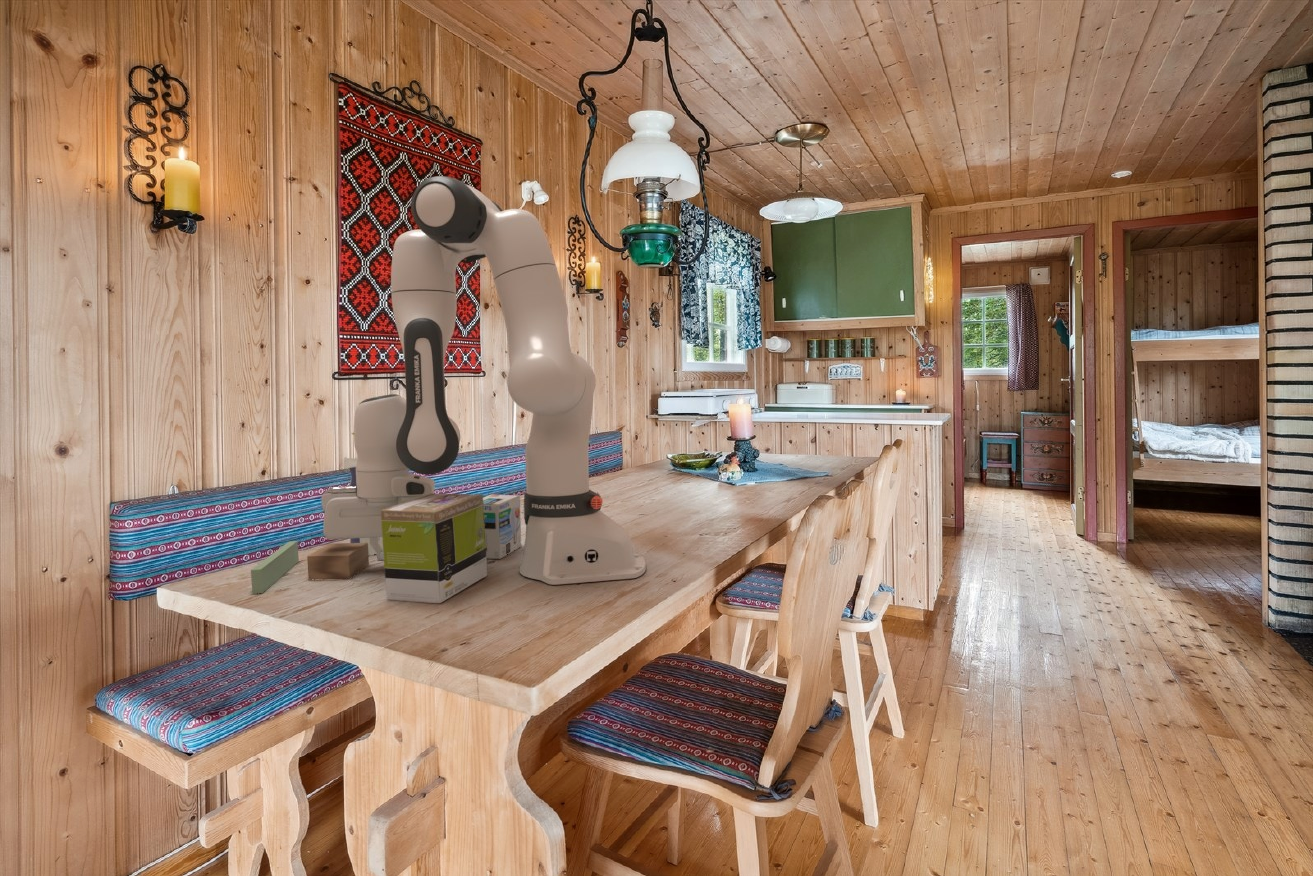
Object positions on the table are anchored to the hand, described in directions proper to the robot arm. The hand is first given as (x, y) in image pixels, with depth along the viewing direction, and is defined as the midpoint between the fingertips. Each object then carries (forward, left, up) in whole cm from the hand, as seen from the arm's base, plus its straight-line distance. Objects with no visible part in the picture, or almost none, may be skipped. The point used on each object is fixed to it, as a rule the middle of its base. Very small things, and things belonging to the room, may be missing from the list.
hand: (386, 560), depth 125 cm
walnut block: (+8, +1, -2) cm, 8 cm away
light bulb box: (-18, -11, -2) cm, 21 cm away
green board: (+18, +3, -2) cm, 18 cm away
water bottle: (+8, -14, -2) cm, 16 cm away
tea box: (-13, +12, -2) cm, 18 cm away
